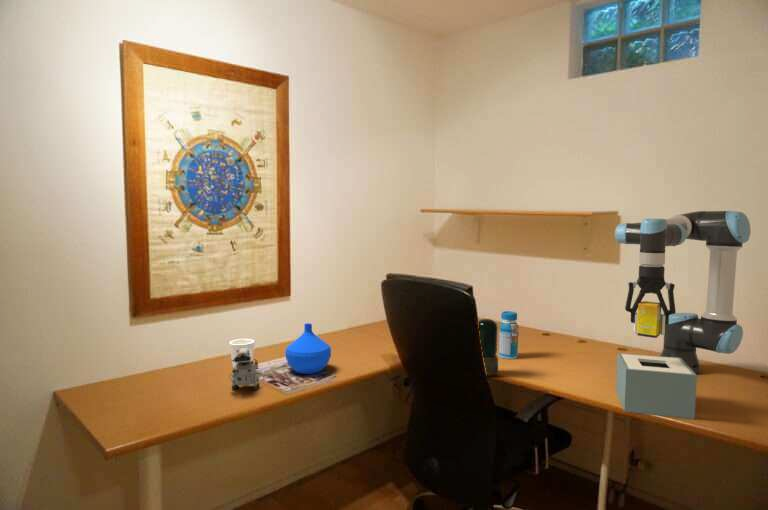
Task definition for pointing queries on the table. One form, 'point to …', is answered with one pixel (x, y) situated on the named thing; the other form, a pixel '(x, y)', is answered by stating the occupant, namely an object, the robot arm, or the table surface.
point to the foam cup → (239, 344)
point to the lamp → (489, 345)
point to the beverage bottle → (508, 335)
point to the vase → (308, 353)
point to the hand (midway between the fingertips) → (648, 333)
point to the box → (656, 385)
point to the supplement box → (649, 319)
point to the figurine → (244, 370)
